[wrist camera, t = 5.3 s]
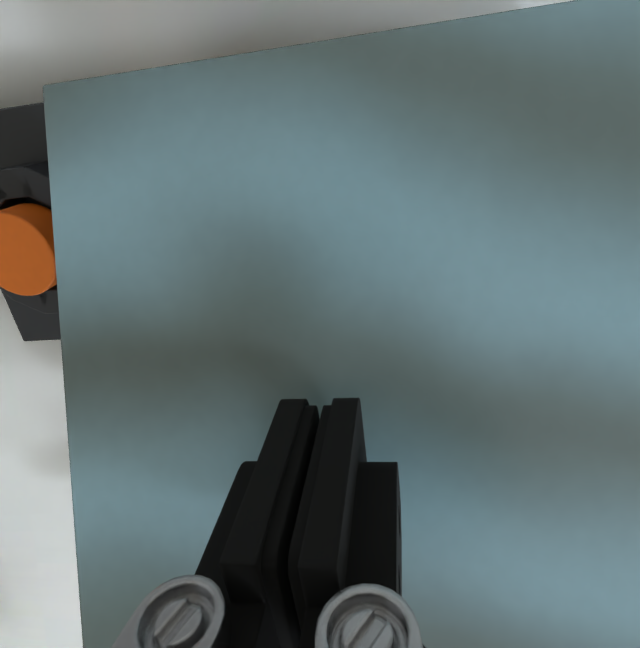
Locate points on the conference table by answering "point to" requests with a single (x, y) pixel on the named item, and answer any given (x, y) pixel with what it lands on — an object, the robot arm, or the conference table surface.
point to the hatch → (368, 306)
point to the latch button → (27, 249)
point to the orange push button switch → (27, 187)
